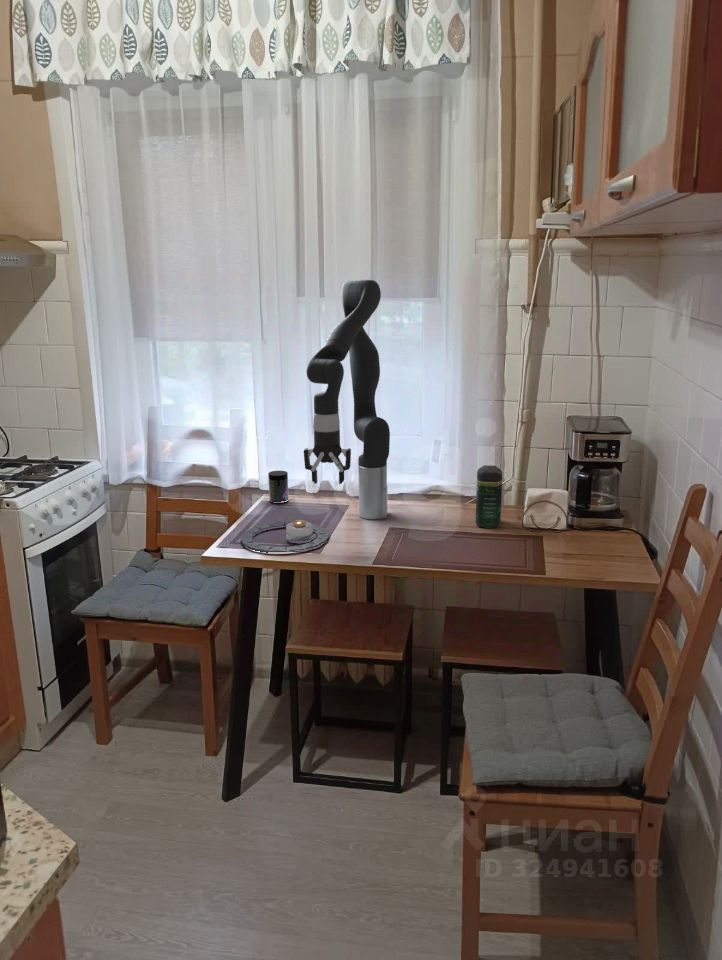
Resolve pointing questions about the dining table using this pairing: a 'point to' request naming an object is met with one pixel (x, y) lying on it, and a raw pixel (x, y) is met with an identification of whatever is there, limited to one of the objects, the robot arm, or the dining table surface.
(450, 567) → the dining table surface
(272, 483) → the supplement container
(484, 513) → the coffee jar
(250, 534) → the centring ring
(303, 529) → the cast cover
